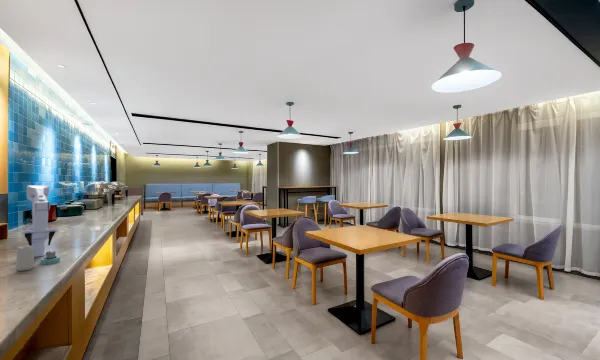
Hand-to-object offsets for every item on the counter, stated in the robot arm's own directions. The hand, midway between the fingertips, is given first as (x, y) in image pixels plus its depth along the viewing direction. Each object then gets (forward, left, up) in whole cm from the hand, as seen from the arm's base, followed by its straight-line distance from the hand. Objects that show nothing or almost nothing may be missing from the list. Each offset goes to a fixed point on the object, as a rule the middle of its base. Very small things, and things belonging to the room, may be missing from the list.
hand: (39, 245), depth 151 cm
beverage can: (+13, -4, -9) cm, 17 cm away
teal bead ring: (+4, +5, -9) cm, 11 cm away
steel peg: (+4, +5, -9) cm, 11 cm away
